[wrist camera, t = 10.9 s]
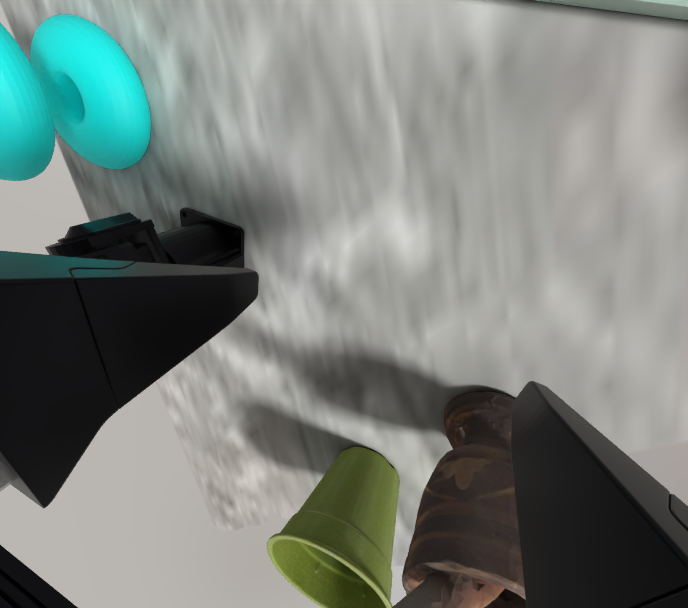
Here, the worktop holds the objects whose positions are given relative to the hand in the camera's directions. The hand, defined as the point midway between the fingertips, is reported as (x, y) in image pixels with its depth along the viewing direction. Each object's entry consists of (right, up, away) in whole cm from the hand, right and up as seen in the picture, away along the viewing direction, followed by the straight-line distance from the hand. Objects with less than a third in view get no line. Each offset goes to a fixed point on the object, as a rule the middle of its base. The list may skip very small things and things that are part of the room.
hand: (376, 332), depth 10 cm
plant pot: (+2, -18, +26) cm, 31 cm away
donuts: (-20, +18, +16) cm, 31 cm away
